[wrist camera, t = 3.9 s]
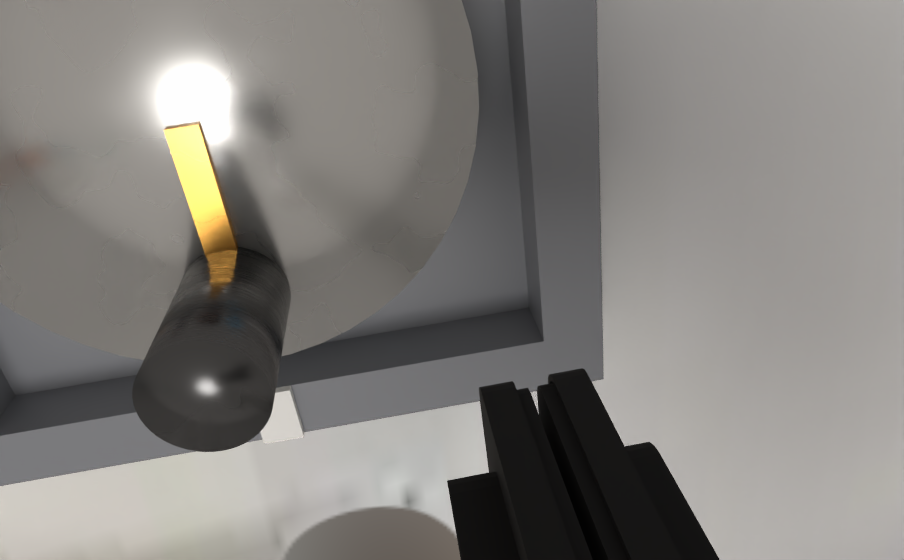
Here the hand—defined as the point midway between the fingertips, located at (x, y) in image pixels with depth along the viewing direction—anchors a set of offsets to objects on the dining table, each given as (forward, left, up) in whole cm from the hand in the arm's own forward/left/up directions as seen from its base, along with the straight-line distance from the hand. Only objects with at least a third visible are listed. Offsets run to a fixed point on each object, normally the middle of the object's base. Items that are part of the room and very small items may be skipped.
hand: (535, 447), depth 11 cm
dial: (+6, -4, -10) cm, 13 cm away
